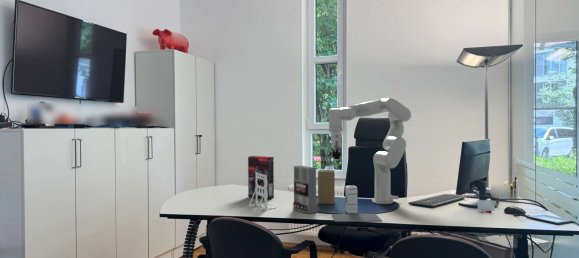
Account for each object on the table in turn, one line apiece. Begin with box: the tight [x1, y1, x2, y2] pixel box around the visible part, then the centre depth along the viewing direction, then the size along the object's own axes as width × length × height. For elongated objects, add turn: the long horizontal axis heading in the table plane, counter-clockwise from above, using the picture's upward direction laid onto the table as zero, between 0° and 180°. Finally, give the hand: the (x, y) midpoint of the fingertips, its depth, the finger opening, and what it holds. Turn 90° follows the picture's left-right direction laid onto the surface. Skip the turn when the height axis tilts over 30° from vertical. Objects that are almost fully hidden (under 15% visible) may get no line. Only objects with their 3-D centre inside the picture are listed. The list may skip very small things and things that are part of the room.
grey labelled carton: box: [292, 165, 318, 215], centre depth 225 cm, size 14×6×25 cm, turn 37°
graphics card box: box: [247, 155, 275, 200], centre depth 262 cm, size 17×7×27 cm, turn 58°
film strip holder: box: [246, 173, 278, 212], centre depth 234 cm, size 14×14×20 cm
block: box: [317, 169, 336, 205], centre depth 245 cm, size 10×10×20 cm
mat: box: [331, 213, 383, 223], centre depth 209 cm, size 24×14×1 cm, turn 92°
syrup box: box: [344, 185, 358, 214], centre depth 222 cm, size 6×6×14 cm
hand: (336, 158), depth 234 cm, fingers open, 9 cm apart
